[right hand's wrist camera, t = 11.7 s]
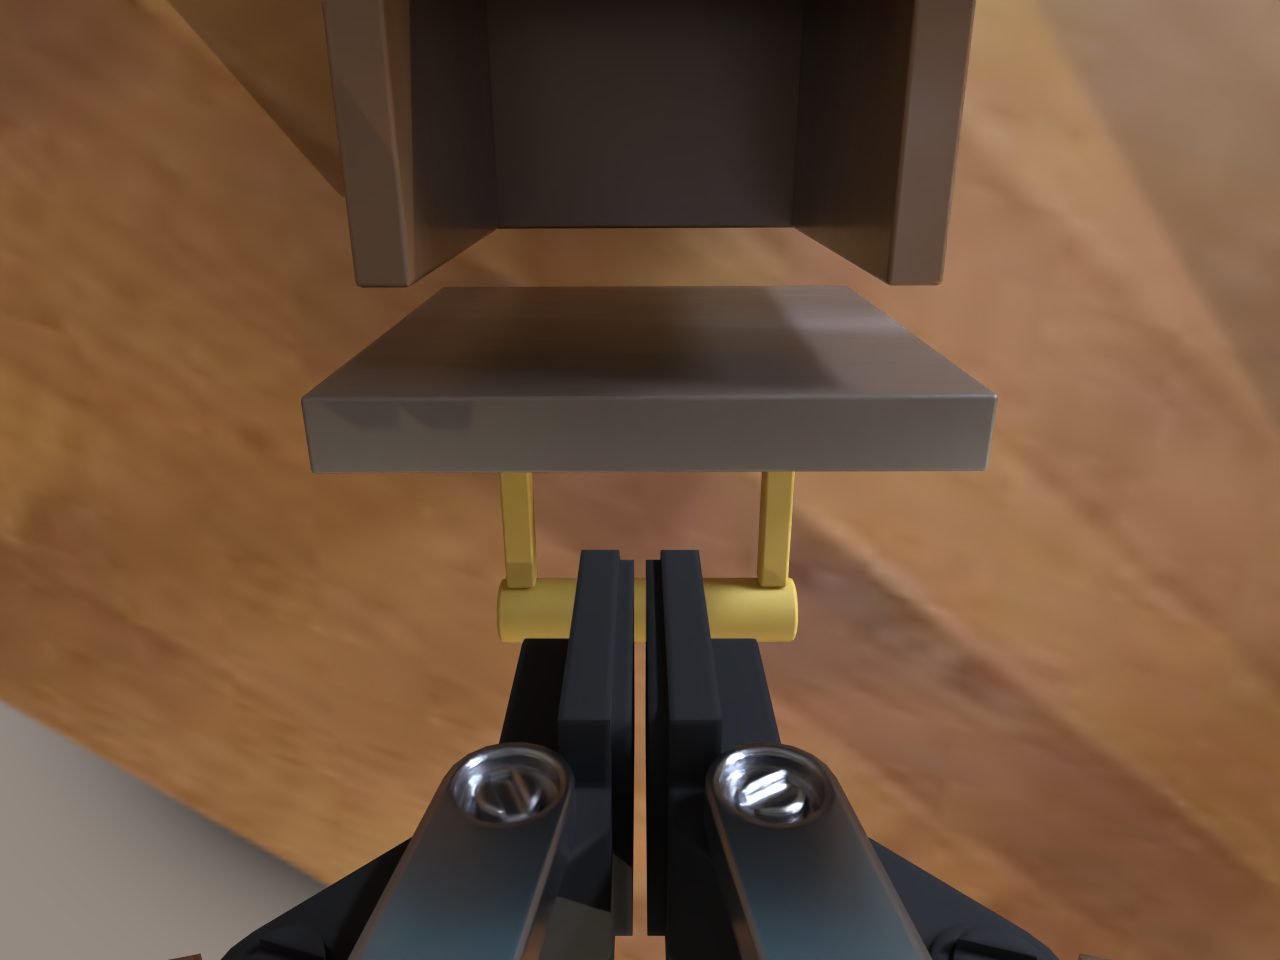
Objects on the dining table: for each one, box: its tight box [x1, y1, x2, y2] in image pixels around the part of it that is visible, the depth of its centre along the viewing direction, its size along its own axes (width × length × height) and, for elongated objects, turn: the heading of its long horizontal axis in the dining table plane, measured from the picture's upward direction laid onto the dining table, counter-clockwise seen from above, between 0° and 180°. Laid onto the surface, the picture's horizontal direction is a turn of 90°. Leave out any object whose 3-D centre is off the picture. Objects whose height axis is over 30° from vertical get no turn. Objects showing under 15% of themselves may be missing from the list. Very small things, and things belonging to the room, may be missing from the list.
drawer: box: [301, 0, 998, 642], centre depth 16 cm, size 20×10×10 cm, turn 0°
